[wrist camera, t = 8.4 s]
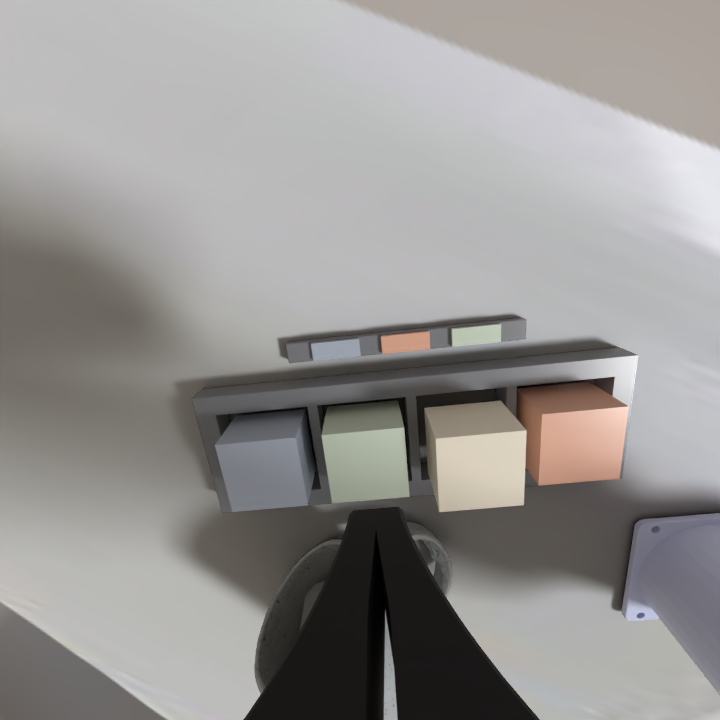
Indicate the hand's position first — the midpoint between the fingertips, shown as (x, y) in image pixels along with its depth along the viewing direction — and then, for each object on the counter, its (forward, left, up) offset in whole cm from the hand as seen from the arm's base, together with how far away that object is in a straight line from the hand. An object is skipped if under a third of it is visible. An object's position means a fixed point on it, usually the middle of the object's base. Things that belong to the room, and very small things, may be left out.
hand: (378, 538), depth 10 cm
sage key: (0, +2, -10) cm, 10 cm away
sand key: (-4, +3, -9) cm, 10 cm away
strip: (-2, -3, -10) cm, 11 cm away
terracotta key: (-9, +3, -10) cm, 14 cm away
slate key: (+6, +3, -10) cm, 12 cm away
